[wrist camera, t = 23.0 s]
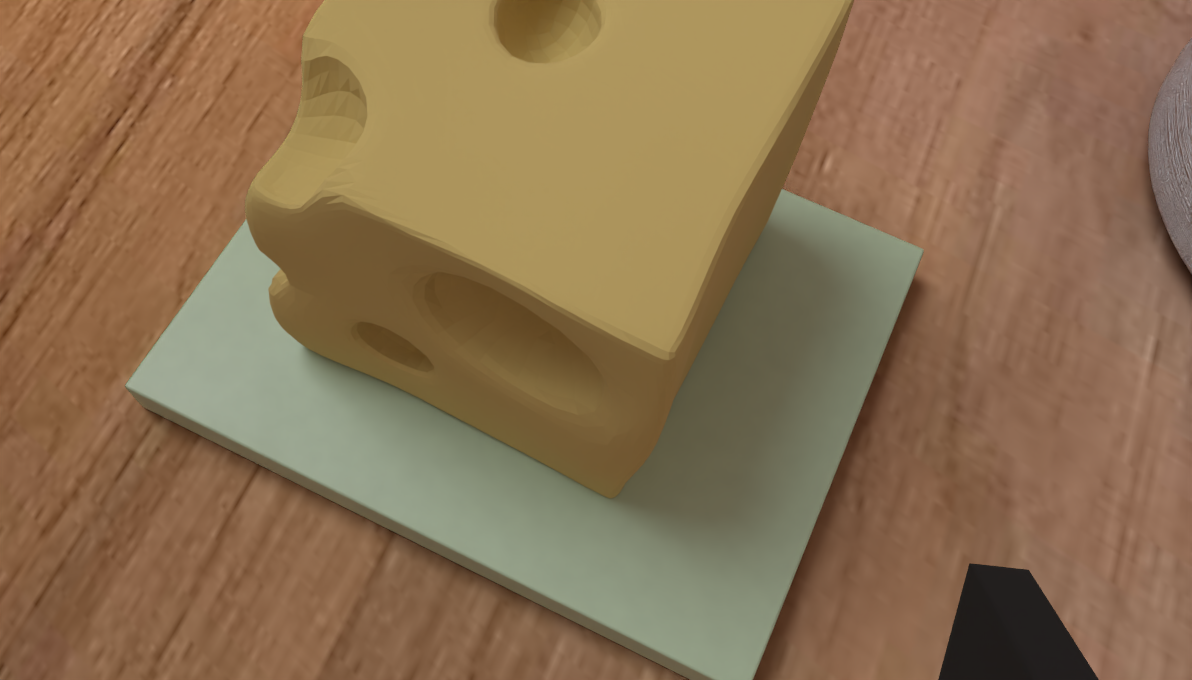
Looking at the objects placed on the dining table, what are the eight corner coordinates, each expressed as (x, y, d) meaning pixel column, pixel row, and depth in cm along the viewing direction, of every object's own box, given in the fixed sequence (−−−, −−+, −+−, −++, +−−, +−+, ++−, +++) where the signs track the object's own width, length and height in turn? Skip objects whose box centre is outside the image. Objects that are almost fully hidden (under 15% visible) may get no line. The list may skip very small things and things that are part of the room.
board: (141, 406, 30) (122, 386, 29) (395, 51, 36) (390, 20, 34) (736, 702, 28) (746, 696, 26) (909, 272, 33) (925, 248, 32)
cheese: (286, 349, 29) (178, 132, 20) (485, 72, 34) (469, -210, 25) (627, 528, 28) (675, 379, 19) (791, 214, 32) (894, -30, 23)
